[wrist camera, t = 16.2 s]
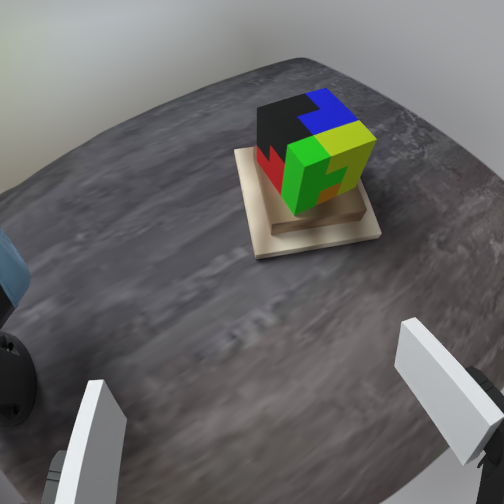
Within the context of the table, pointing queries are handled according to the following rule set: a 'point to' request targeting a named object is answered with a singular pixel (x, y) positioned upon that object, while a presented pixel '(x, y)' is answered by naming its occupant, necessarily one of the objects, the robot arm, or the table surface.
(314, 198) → the puzzle toy
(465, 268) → the table surface
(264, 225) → the build plinth
